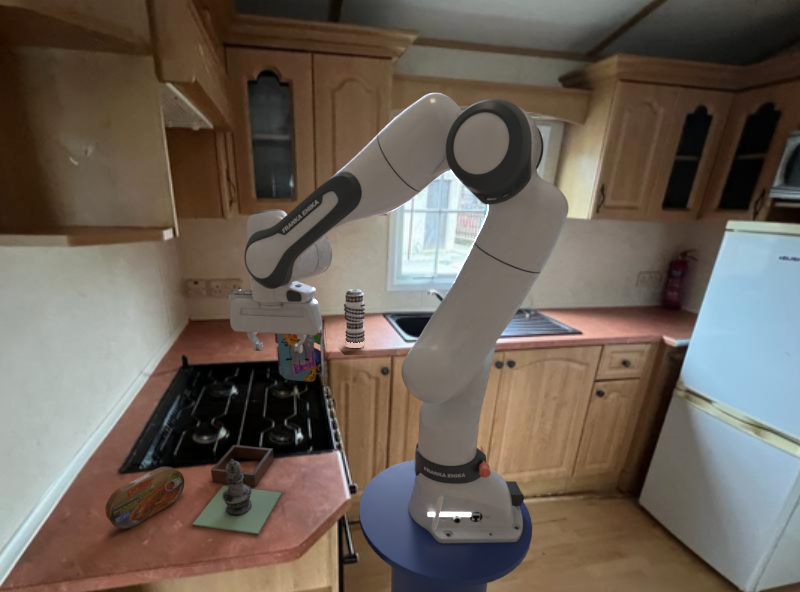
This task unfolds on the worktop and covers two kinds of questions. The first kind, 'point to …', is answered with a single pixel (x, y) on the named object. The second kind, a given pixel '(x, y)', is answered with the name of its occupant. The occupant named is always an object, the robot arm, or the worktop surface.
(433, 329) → the robot arm
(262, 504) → the mat
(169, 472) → the tin
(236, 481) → the grey chess piece
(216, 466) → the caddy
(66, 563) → the worktop surface
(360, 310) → the decorative candle
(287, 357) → the box
